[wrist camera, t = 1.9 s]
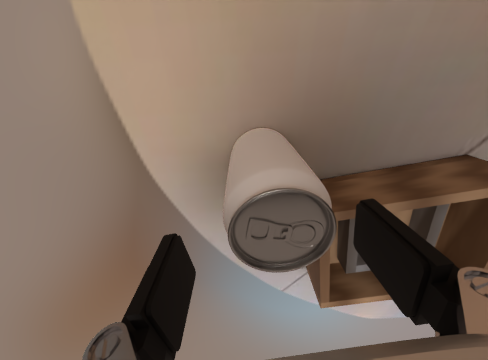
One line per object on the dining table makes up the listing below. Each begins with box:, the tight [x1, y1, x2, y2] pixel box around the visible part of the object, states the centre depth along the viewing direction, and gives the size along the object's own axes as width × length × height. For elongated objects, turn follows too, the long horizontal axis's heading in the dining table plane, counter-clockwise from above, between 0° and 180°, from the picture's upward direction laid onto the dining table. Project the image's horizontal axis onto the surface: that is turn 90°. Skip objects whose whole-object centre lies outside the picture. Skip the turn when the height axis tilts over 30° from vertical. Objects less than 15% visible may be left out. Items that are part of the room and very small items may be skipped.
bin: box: [306, 155, 488, 308], centre depth 22 cm, size 18×14×6 cm
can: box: [223, 128, 337, 272], centre depth 15 cm, size 6×6×12 cm
